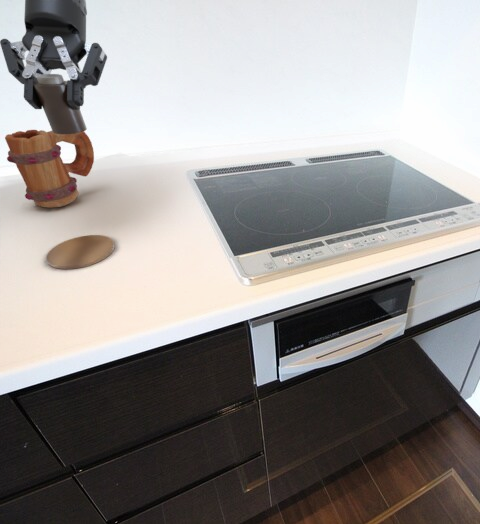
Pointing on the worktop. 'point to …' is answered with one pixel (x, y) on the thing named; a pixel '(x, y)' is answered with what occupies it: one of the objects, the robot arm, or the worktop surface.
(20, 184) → the worktop surface
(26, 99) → the robot arm
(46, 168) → the mug
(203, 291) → the worktop surface
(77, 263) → the coaster
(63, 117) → the pepper mill
